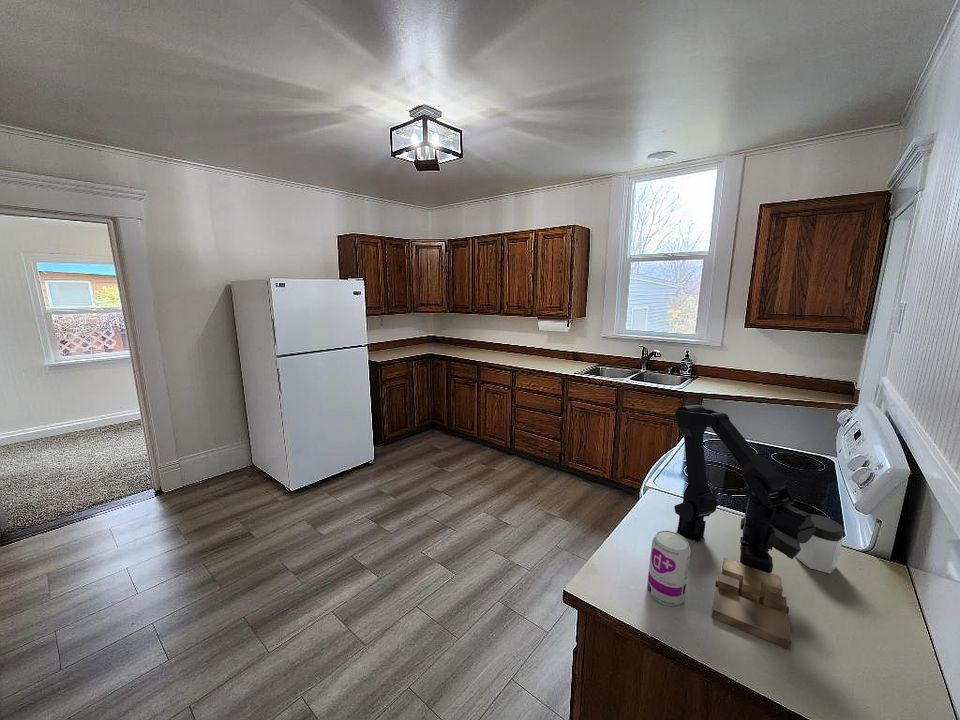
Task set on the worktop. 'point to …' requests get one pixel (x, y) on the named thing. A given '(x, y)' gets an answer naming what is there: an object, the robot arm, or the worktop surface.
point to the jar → (822, 545)
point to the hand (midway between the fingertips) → (750, 571)
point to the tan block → (752, 580)
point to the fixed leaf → (752, 612)
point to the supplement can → (668, 568)
